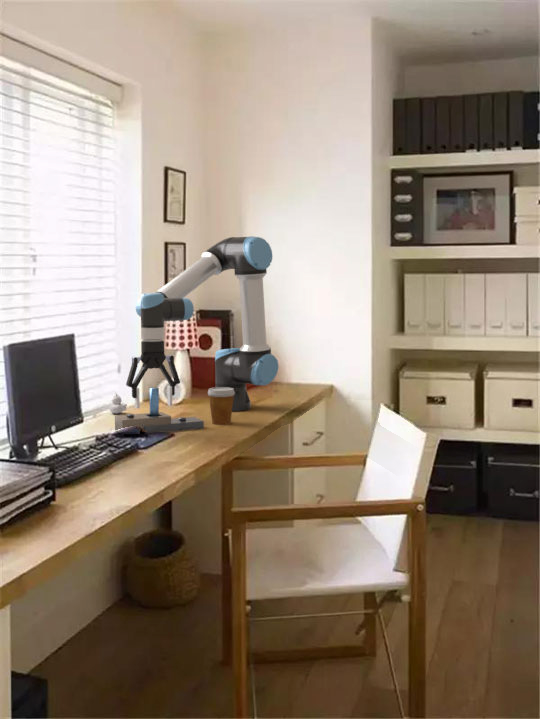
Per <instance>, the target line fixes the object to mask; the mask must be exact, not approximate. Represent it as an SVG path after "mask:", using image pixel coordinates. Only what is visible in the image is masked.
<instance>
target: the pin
mask: <svg viewBox="0 0 540 719" xmlns="http://www.w3.org/2000/svg"><path fill="white" fill-rule="evenodd" d="M159 390H160V388H158V387H149V413H150V417H153V416H159V412H160V408H159V407H160V405H159V404H160V402H159V401H160V396H159V395H160V391H159Z"/></svg>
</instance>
